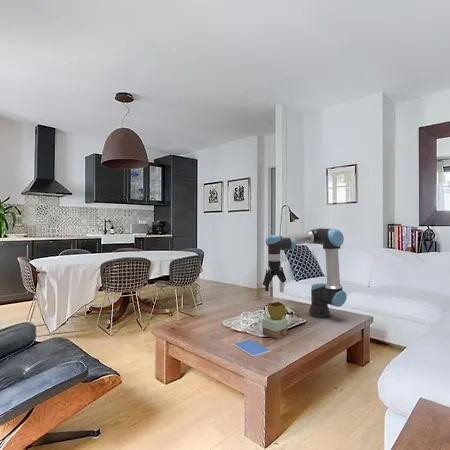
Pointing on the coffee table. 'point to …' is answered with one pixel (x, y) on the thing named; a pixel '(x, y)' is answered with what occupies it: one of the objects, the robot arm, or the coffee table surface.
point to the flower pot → (276, 310)
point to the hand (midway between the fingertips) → (274, 294)
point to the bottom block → (275, 333)
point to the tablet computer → (252, 348)
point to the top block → (274, 324)
